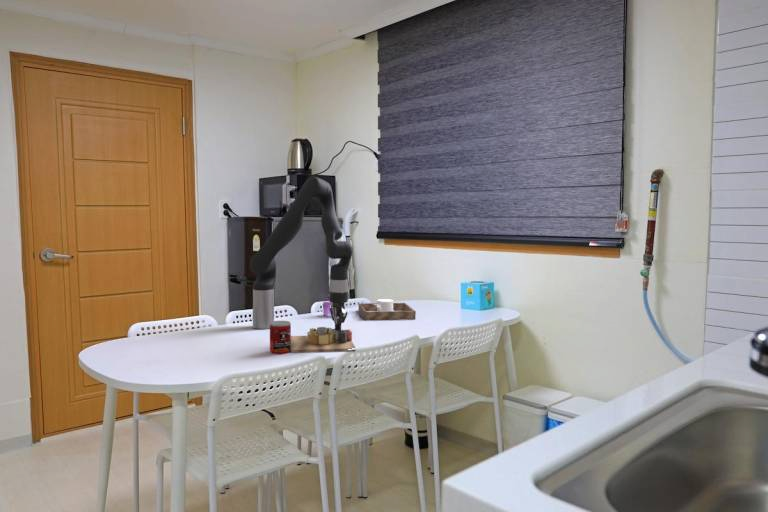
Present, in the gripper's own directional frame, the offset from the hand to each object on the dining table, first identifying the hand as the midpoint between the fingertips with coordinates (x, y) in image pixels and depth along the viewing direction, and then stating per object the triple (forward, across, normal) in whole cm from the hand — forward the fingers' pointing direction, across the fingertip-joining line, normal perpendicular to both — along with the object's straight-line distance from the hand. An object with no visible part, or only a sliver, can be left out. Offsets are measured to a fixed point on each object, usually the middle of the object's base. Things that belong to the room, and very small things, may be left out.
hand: (337, 332), depth 236 cm
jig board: (+3, +4, -9) cm, 10 cm away
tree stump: (+4, -40, +45) cm, 60 cm away
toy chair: (+4, -49, +20) cm, 53 cm away
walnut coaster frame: (+3, -41, +46) cm, 61 cm away
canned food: (+4, +8, -27) cm, 29 cm away
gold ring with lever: (+2, +5, -6) cm, 8 cm away
